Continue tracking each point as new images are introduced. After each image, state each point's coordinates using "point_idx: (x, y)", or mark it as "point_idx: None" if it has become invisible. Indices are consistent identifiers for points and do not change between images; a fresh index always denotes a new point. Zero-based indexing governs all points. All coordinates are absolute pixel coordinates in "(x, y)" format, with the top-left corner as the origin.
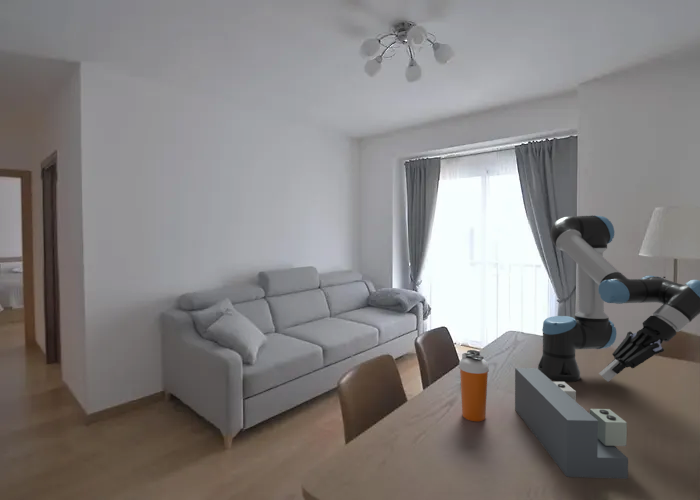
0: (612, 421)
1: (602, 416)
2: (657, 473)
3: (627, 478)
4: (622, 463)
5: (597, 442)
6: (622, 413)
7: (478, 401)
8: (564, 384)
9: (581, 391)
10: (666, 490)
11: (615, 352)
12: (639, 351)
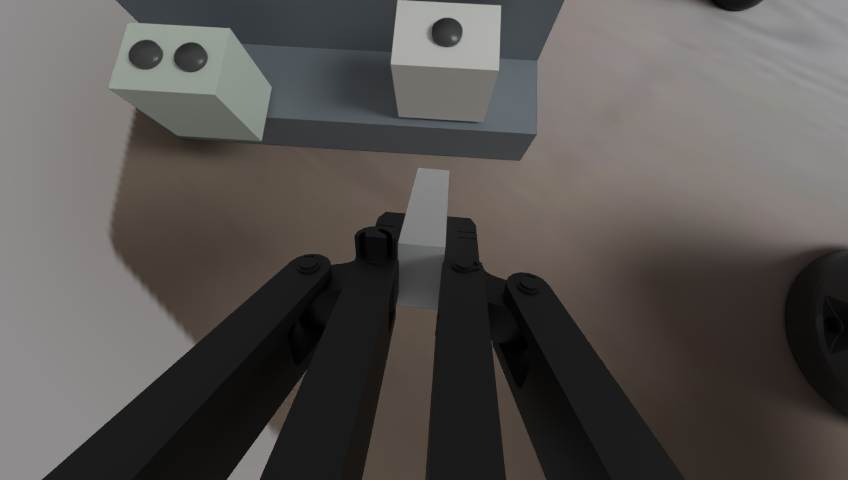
0: (126, 46)
1: (165, 35)
2: (185, 220)
3: (180, 138)
4: None
5: (118, 1)
6: (500, 365)
7: None
8: (465, 55)
9: (688, 330)
10: (129, 193)
11: (532, 299)
12: (191, 413)
